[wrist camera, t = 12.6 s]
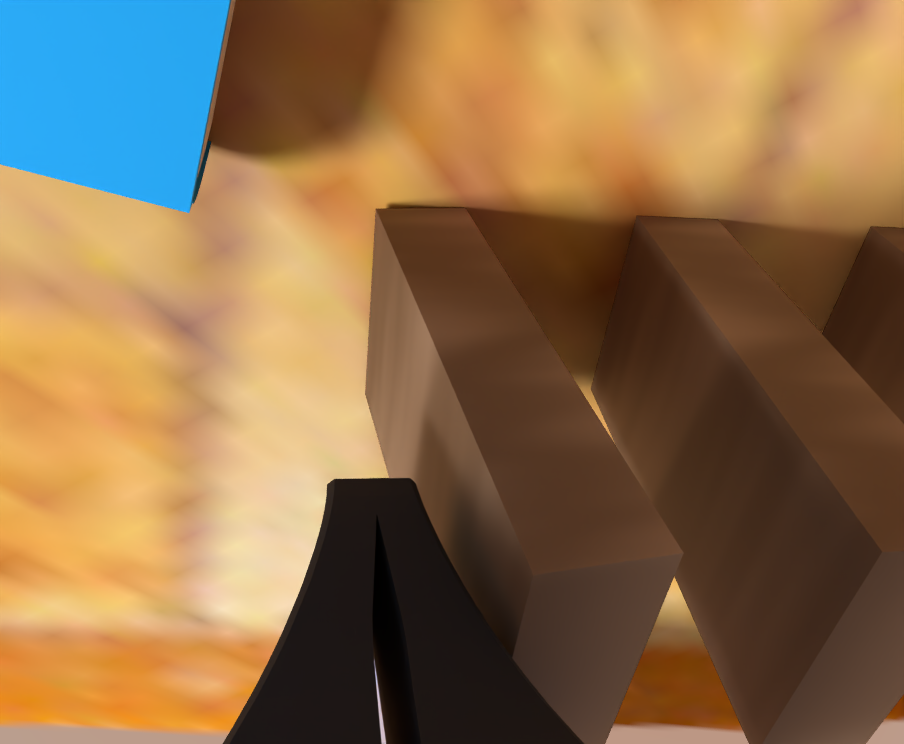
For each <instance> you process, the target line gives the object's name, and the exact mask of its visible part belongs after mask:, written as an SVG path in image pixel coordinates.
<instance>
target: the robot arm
mask: <svg viewBox="0 0 904 744" xmlns="http://www.w3.org/2000/svg"><path fill="white" fill-rule="evenodd" d="M223 744H584V743H583V742H582V741H581V740H580V738H579V737H578V736H577V735H576V734H575V733H574V732H573V731H572V730H571V728H570V727H569V726H568V725H567V724H566V723H565V722H564V721H563V720H562V719H561V717H560V716H559V715H558V714H557V713H556V712H555V711H554V710H553V709H552V707H551V706H550V705H549V704H548V703H547V702H546V700H545V699H544V698H543V697H542V695H541V694H540V693H539V692H538V690H537V689H536V688H535V687H534V686H533V684H532V683H531V682H530V681H529V679H528V678H527V677H526V676H525V674H524V673H523V672H522V670H521V669H520V668H519V666H518V665H517V664H516V662H515V661H514V660H513V658H512V657H511V656H510V654H509V653H508V652H507V650H506V649H505V647H504V646H503V645H502V643H501V642H500V640H499V639H498V637H497V636H496V635H495V633H494V632H493V630H492V629H491V627H490V626H489V624H488V623H487V621H486V620H485V618H484V616H483V615H482V613H481V612H480V610H479V609H478V607H477V606H476V604H475V602H474V601H473V599H472V597H471V596H470V594H469V592H468V591H467V589H466V588H465V586H464V584H463V582H462V580H461V579H460V577H459V575H458V573H457V572H456V570H455V568H454V566H453V564H452V563H451V561H450V559H449V557H448V555H447V553H446V552H445V550H444V548H443V546H442V544H441V542H440V540H439V538H438V536H437V534H436V531H435V529H434V527H433V525H432V523H431V521H430V519H429V516H428V514H427V512H426V509H425V507H424V505H423V502H422V499H421V497H420V494H419V491H418V488H417V485H416V483H415V482H414V481H413V480H412V479H411V478H369V479H334V480H333V481H331V482H330V483H328V484H327V497H326V504H325V510H324V515H323V520H322V524H321V528H320V532H319V535H318V539H317V543H316V546H315V549H314V552H313V555H312V558H311V561H310V564H309V567H308V570H307V573H306V576H305V578H304V581H303V584H302V587H301V589H300V592H299V594H298V597H297V599H296V601H295V604H294V606H293V609H292V611H291V613H290V616H289V618H288V620H287V623H286V625H285V627H284V630H283V632H282V634H281V637H280V639H279V641H278V643H277V645H276V647H275V649H274V651H273V653H272V655H271V657H270V659H269V662H268V664H267V666H266V667H265V669H264V671H263V673H262V675H261V677H260V679H259V681H258V683H257V685H256V687H255V689H254V690H253V692H252V694H251V696H250V698H249V699H248V701H247V703H246V705H245V706H244V708H243V710H242V712H241V713H240V715H239V717H238V719H237V720H236V722H235V724H234V726H233V728H232V729H231V731H230V733H229V734H228V736H227V737H226V739H225V741H224V743H223Z"/></svg>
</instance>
